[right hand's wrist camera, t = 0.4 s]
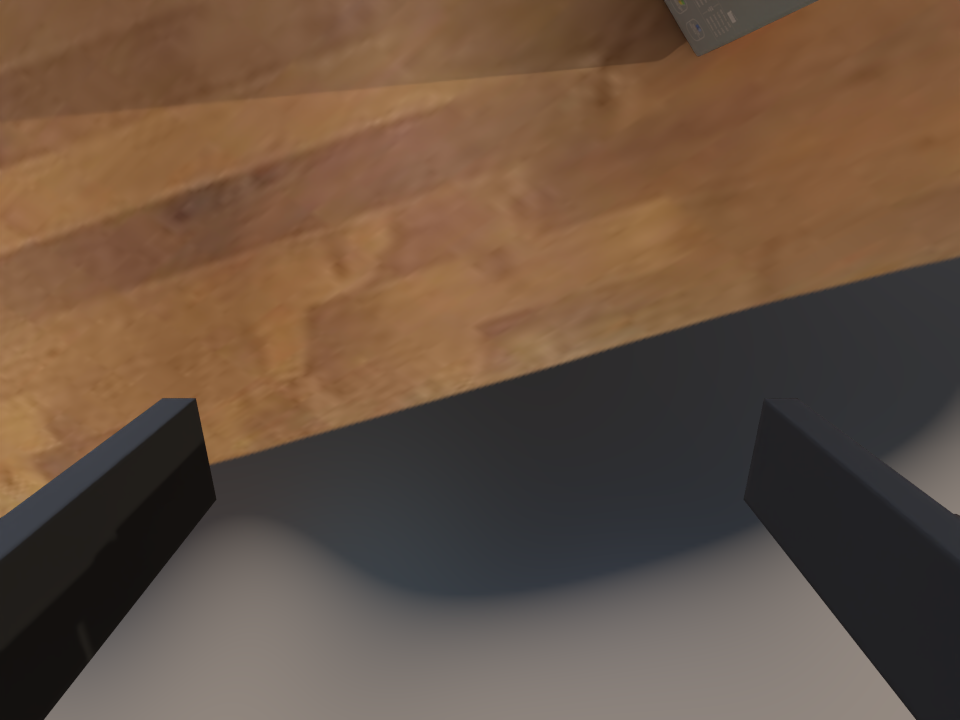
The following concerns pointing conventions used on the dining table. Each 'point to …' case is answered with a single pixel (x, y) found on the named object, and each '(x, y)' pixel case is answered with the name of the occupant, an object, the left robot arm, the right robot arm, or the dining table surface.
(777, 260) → the dining table surface
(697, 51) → the hard drive box
